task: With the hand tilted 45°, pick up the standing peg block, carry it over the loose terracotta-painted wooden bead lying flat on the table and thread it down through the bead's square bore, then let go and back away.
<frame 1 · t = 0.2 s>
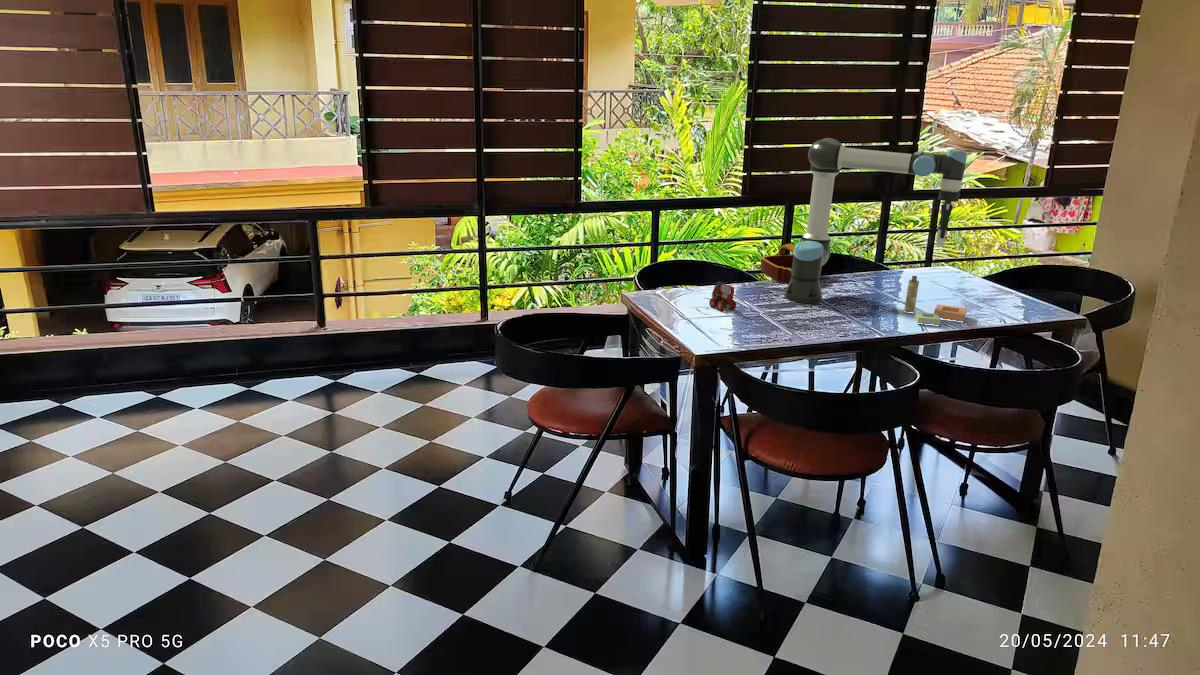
hand: (939, 244, 334), 27 cm above the table, tool pointing down, fingers open, 13 cm apart
peg block: (909, 312, 337), on the table
small bead: (926, 323, 323), on the table
toy fire truck: (721, 309, 333), on the table
decorative basket: (791, 276, 392), on the table
bead: (949, 317, 331), on the table
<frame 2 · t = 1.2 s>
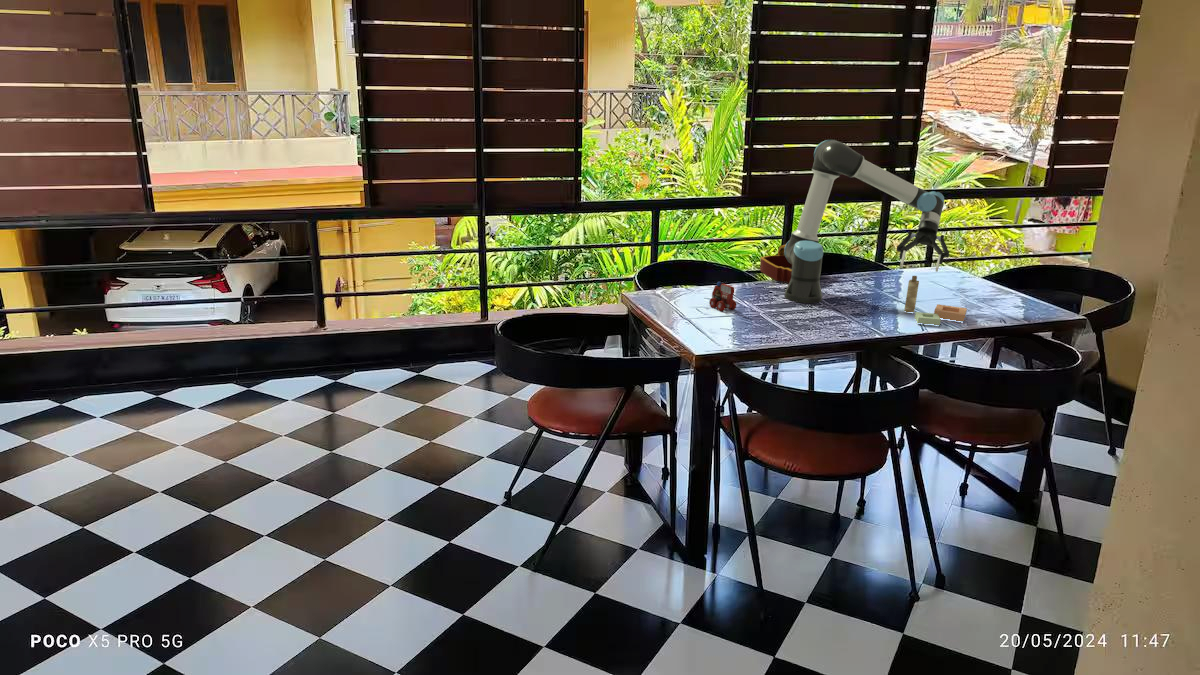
hand: (918, 267, 341), 16 cm above the table, tool tilted 45°, fingers open, 13 cm apart
nothing on the table moved.
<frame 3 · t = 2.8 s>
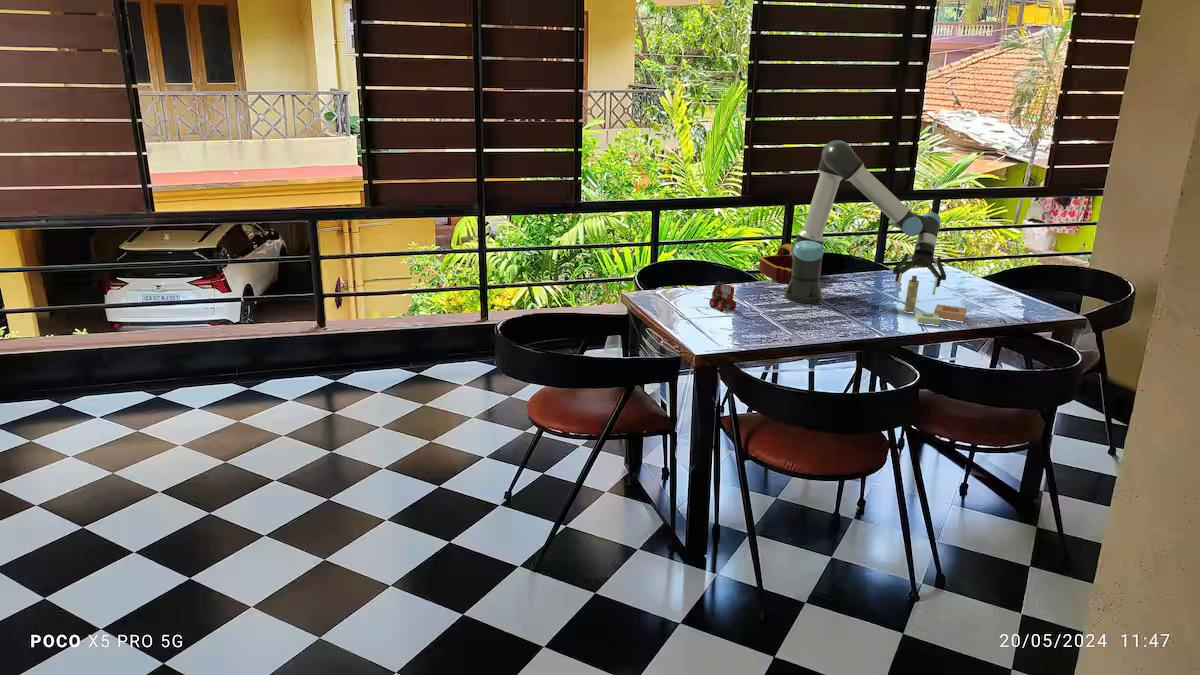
hand: (915, 290, 335), 9 cm above the table, tool tilted 45°, fingers open, 13 cm apart
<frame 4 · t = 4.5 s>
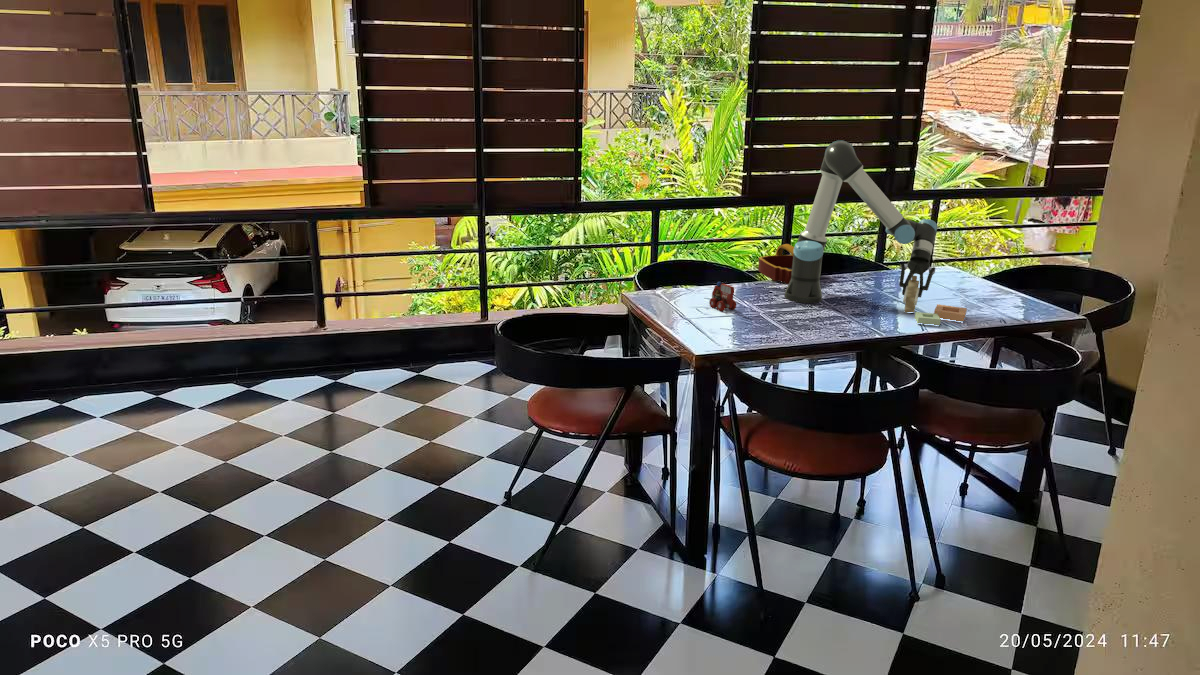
hand: (909, 302, 332), 5 cm above the table, tool tilted 45°, fingers closed on peg block, 3 cm apart
peg block: (909, 312, 337), on the table, touching gripper
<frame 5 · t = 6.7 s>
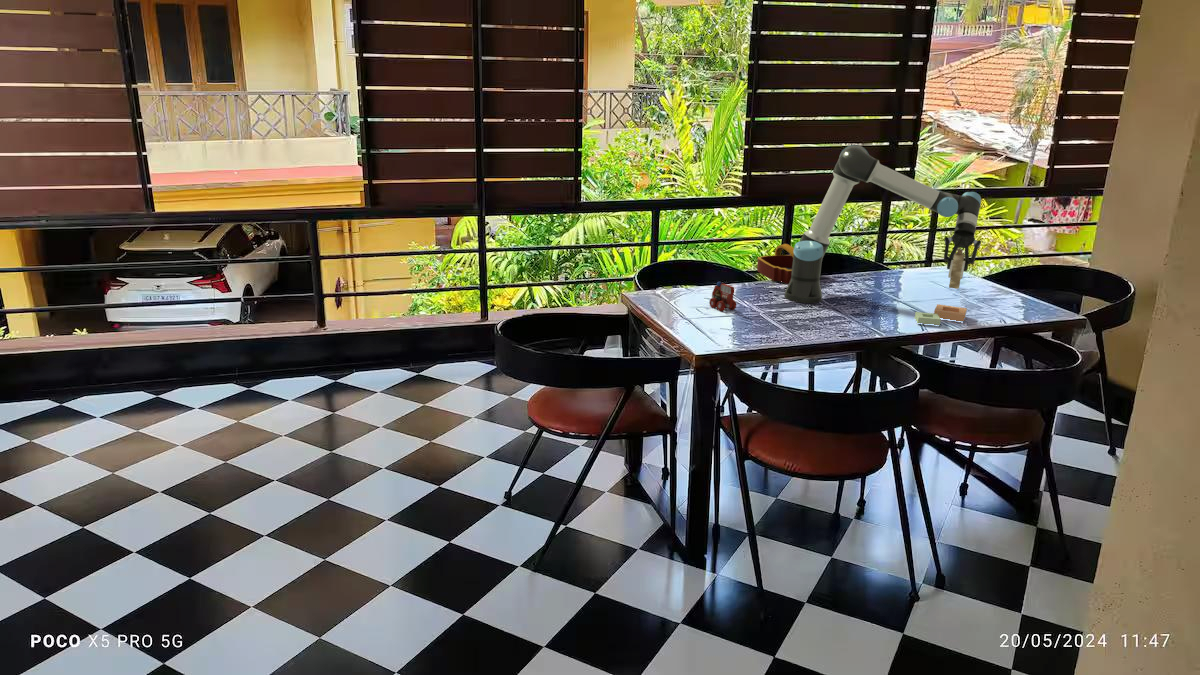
hand: (955, 276, 323), 18 cm above the table, tool tilted 45°, fingers closed on peg block, 3 cm apart
peg block: (954, 287, 328), point 12 cm above the table, touching gripper
when the fingers open (7 cm above the table, at t = 9.0 s): peg block drops 2 cm, resting in bead.
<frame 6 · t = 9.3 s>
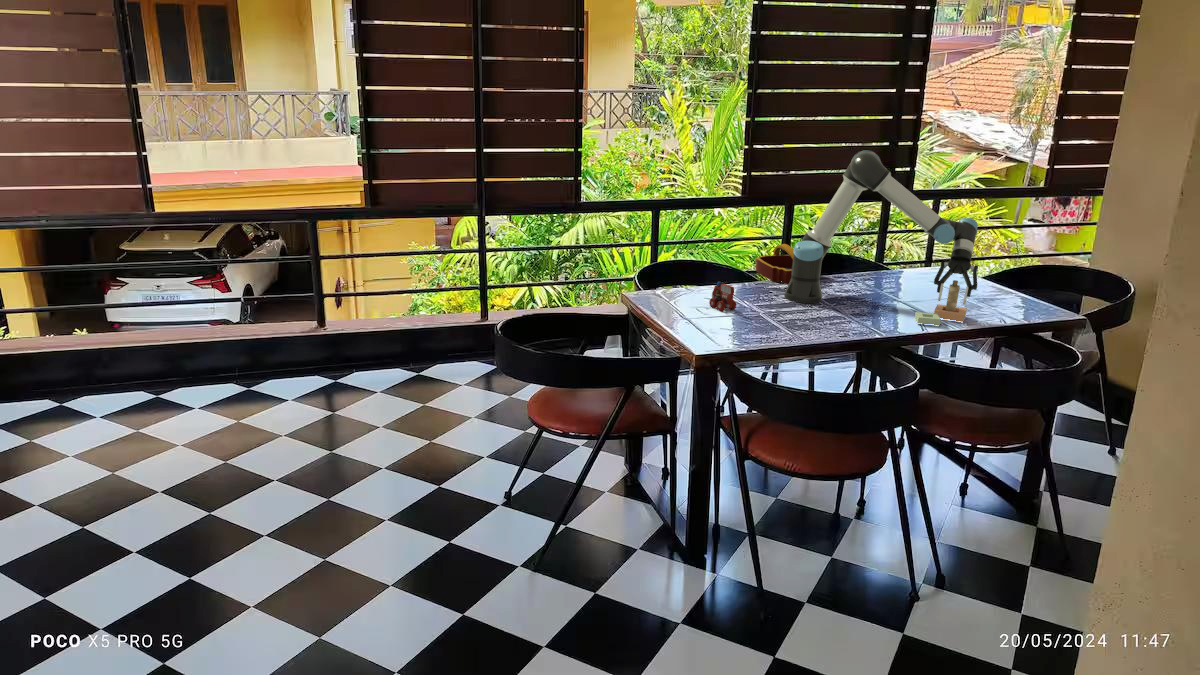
hand: (951, 300, 326), 8 cm above the table, tool tilted 45°, fingers open, 8 cm apart
peg block: (949, 317, 331), resting in bead
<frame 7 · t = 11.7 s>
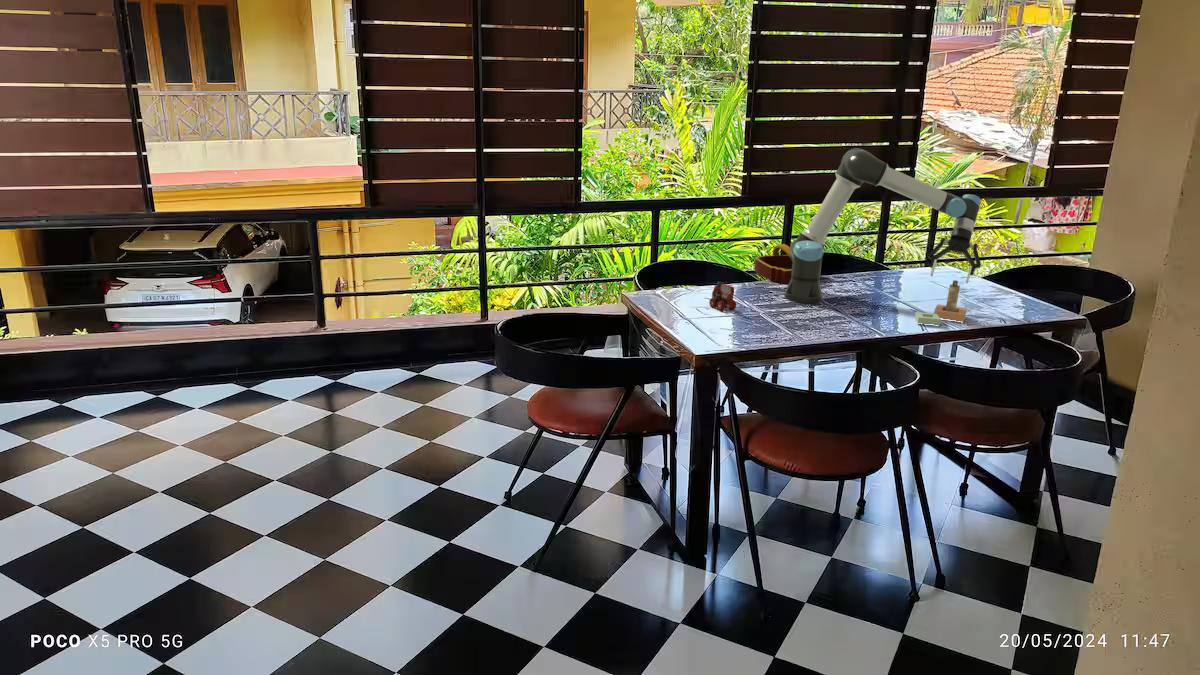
hand: (949, 278, 339), 13 cm above the table, tool tilted 35°, fingers open, 13 cm apart
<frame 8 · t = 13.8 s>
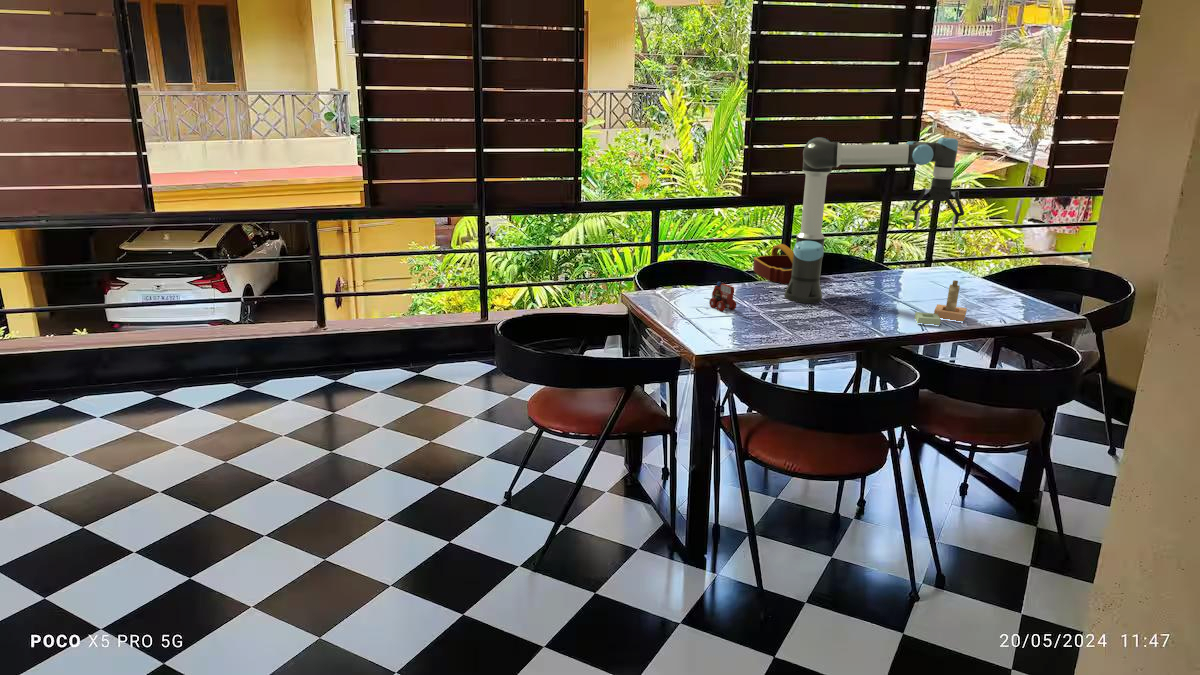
hand: (934, 230, 343), 31 cm above the table, tool pointing down, fingers open, 13 cm apart
at the end: peg block 0.1 cm off-centre on the bead, point 0.0 cm above the bead's base; peg block tilted 0°; the gripper is holding nothing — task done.
